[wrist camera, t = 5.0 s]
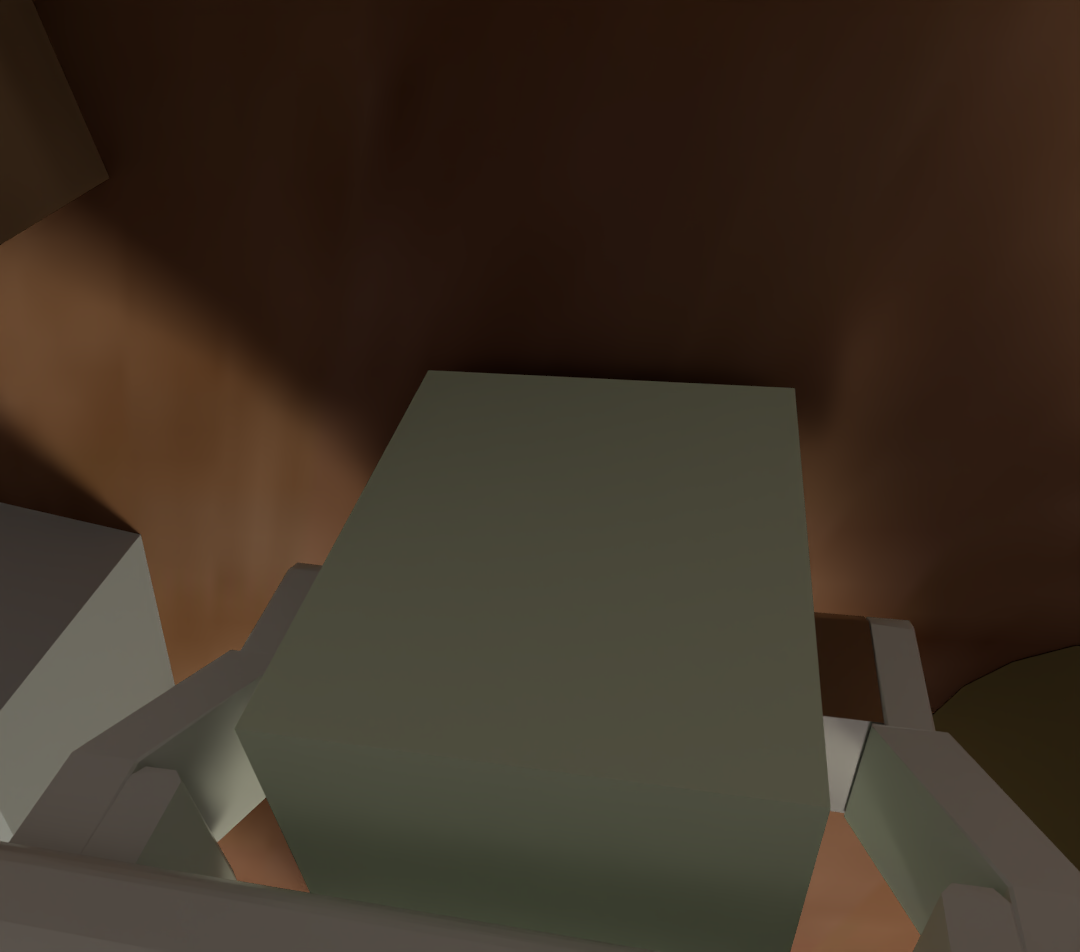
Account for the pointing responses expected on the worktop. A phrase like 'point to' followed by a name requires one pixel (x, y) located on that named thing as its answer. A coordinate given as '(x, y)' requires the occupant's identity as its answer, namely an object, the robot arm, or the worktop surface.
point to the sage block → (563, 669)
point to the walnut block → (38, 126)
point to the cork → (1027, 738)
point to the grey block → (69, 645)
